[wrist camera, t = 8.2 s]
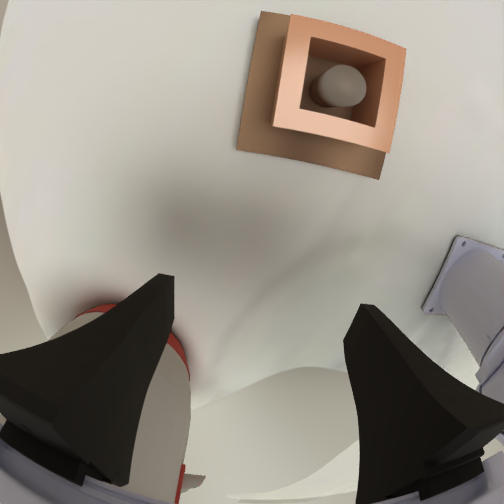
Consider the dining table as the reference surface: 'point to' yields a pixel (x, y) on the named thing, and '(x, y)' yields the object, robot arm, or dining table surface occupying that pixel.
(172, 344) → the citrus juicer
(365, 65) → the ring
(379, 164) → the post stand
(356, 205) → the dining table surface
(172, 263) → the dining table surface
